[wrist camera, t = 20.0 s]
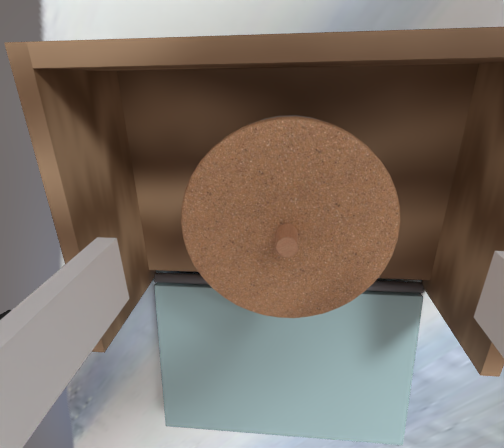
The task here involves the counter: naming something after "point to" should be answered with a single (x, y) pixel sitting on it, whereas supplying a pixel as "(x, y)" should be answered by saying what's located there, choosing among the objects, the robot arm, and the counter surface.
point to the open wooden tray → (264, 106)
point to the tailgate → (288, 363)
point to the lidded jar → (290, 217)
